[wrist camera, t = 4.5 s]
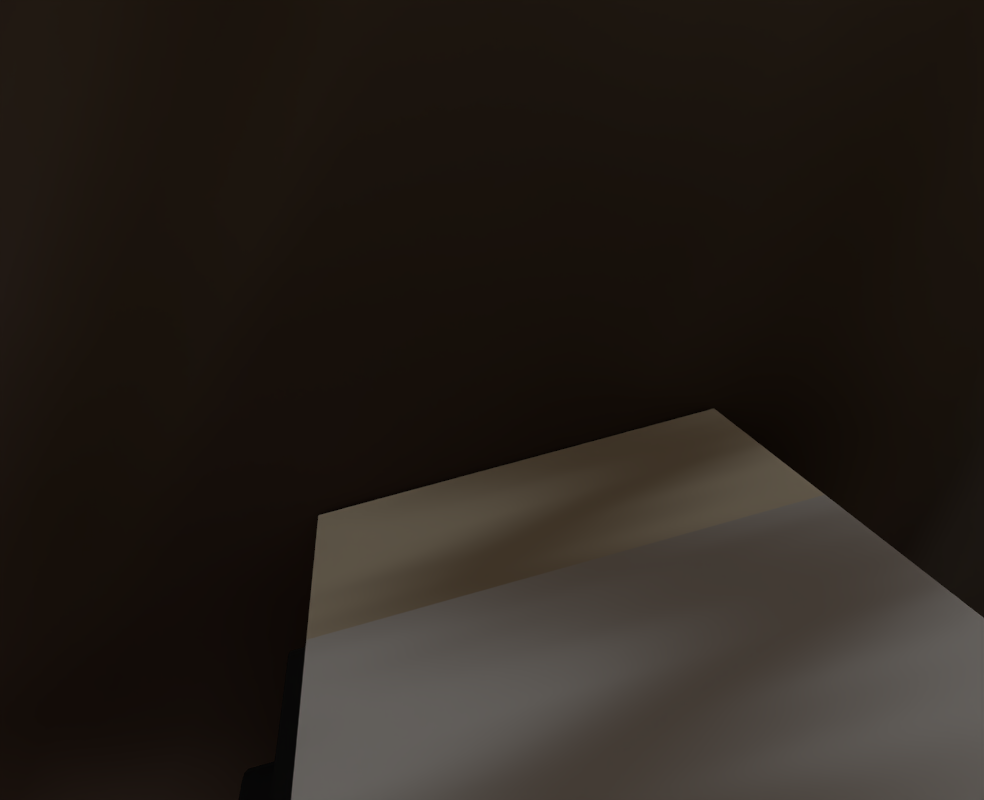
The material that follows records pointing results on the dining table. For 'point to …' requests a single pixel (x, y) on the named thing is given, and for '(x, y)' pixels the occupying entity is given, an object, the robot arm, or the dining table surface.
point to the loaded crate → (632, 638)
